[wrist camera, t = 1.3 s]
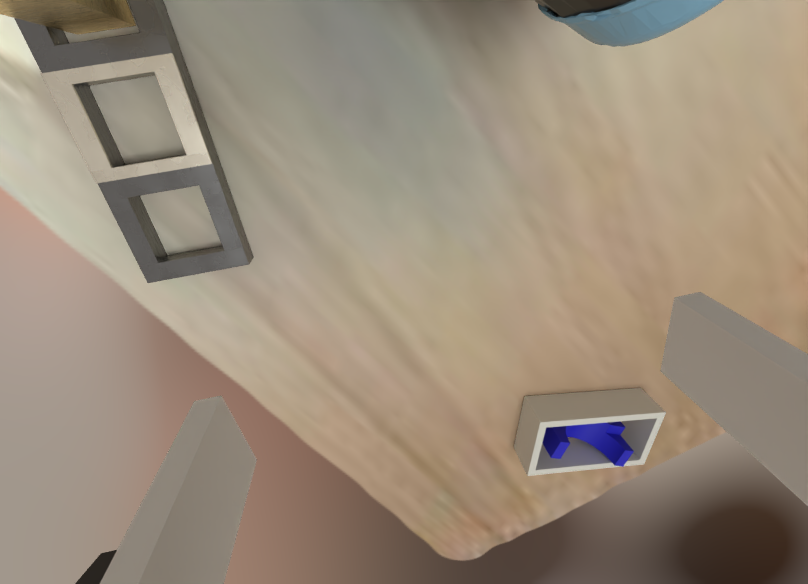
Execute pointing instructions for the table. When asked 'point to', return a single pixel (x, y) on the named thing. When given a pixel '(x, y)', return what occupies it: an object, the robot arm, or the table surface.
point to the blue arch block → (590, 440)
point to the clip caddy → (585, 409)
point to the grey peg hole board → (122, 184)
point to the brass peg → (71, 14)
